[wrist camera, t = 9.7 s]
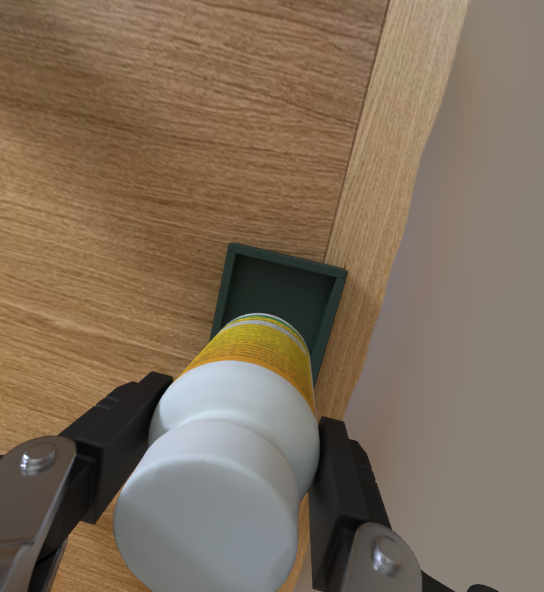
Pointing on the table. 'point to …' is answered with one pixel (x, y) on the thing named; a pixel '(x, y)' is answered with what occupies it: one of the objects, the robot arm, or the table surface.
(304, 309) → the tray
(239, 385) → the supplement bottle
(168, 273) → the table surface
